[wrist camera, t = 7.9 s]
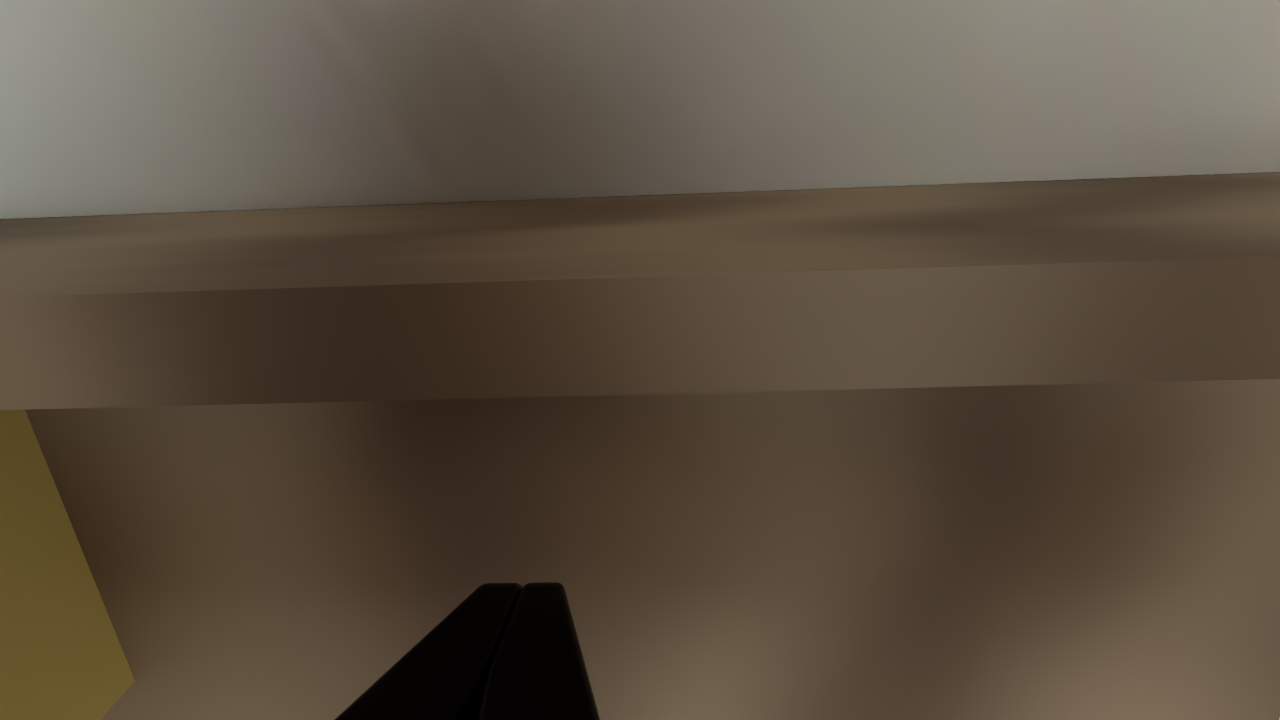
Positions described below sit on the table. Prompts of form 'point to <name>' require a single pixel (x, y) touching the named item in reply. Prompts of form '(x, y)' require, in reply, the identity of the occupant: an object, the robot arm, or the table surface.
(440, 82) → the table surface
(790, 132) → the table surface
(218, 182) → the table surface
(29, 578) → the block
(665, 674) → the wooden tray
